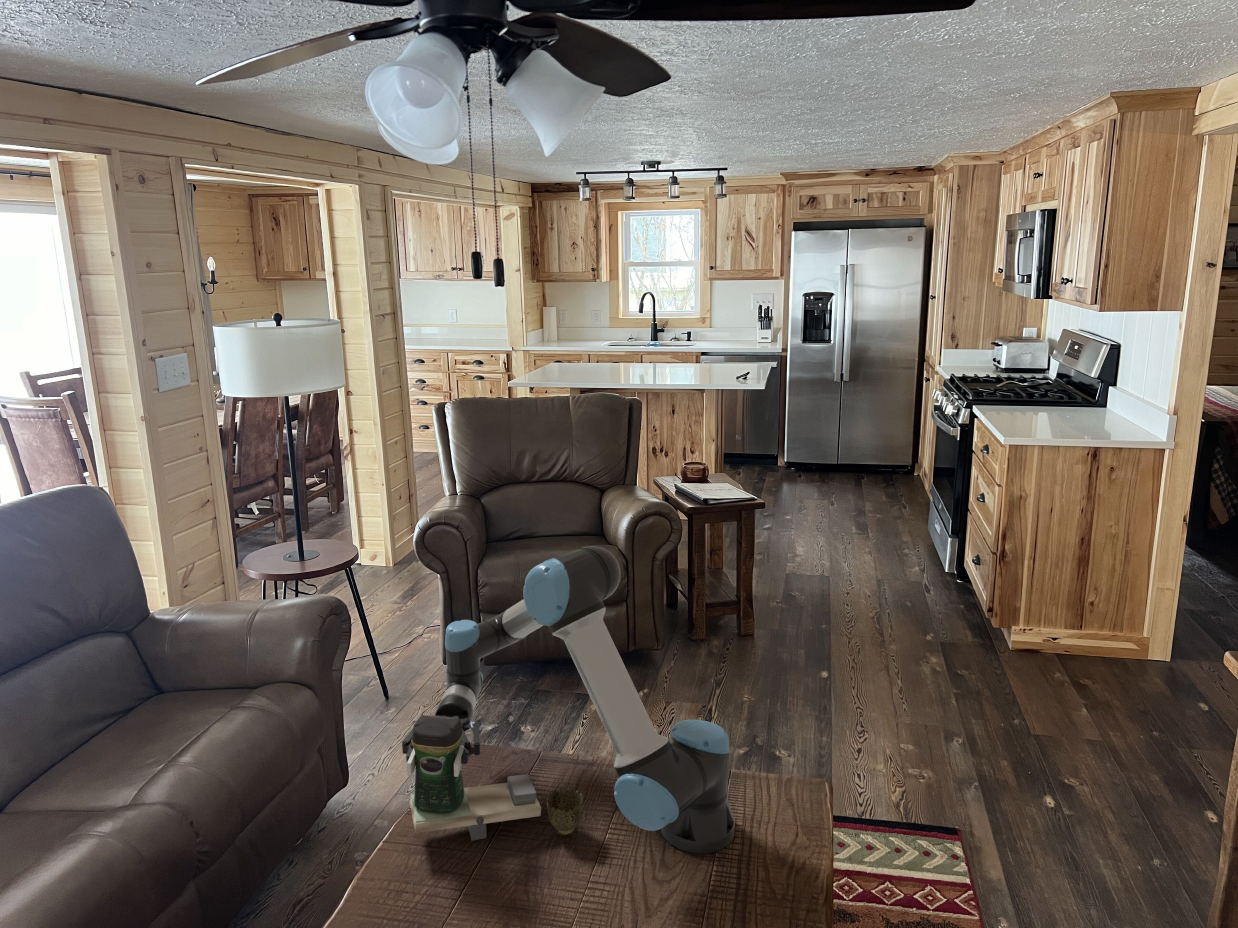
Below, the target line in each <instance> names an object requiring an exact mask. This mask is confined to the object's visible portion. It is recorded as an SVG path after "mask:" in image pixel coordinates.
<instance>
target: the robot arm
mask: <svg viewBox="0 0 1238 928" xmlns="http://www.w3.org/2000/svg"><path fill="white" fill-rule="evenodd" d="M621 577H622V576H621V566H620V564H619V561H618V560H617V558H616V557H615V555H614V554H613V553H612V552H611V551H609V550H608V549H606V548H604V547H601V546H596V545H590V546H589V545H588V546H584V547H580V548H577V549H575V550H573V551H570V552H566V553H564V554H561V555H558V556H555V557H552V558H549V559H547V560H544V561H542V563H539V564H537V565H535V566H534V567H532V569H530V570H529V571H528V574H527V575H526V576H525V578H524V585H523V589H522V592H523V595H522V597H523V599H521V600H520V601H518V602H516V603H515V604H513V605H512V606H510V607H509V608H507V609H506V610H504V611H503V612H501V613H500V614H497V615H495V616H494V617H492V618H490V619H487V620H485V621H482V622H479V623H477V622H476V621H473V620H470V619H461V620H454V621H452V622H451V623H449V624H448V625H446V626H447V627H446V629H445V637H444V638H445V639H444V640H445V641H444V648H445V659H446V660H445V661H446V688H445V690H444V693H443V695H442V697H441V699H440V702H439V704H438V707H437V709H436V711H435V714H434V716H445V717H454V718H458V719H460V722H461V727H462V733H463V736H462V741H461V744H460V746H459V751H458V753H457V756H456V759H455V762H454V777H458V776H459V772H460V769H461V770H462V766H463V765H467V764H468V762H469V759H470V757H471V756H472V755H475V756H480V754H481V741H480V739H481V737H480V735H481V734H482V732H483V720H482V719H481V718H477V719H476V720H475V721H471V719H472V717H473V713H474V710H475V707H476V705H477V704H476V703H477V701H478V698H479V695H480V693H481V691H482V690H483V682H484V675H483V673H482V670H481V659H482V658H485V657H487V656H490V655H491V654H493V653H496V652H497V651H500V650H502V649H504V648H506V647H509V646H511V645H514V644H517V643H518V642H520V641H522V640H523V639H525V638H526V637H527V636H528V635H529V634H531V633H533V632H535V631H537V630H538V629H540V628H542V627H543V626H547V627H548V628H549V630H550V633H551V634H552V635H551V636H555V637H557V638H559V639H562V640H563V641H564V643H565V646H566V648H567V650H568V652H569V654H570V657H571V659H572V661H573V663H574V665H575V667H576V670H577V671H578V674H579V676H580V678H581V680H582V683H583V686H585V689H586V691H587V693H588V695H589V697H590V699H591V702H592V703H593V706H594V708H595V710H596V712H597V714H598V716H599V719H600V721H601V723H602V725H603V728H604V729H605V732H606V734H607V736H608V737H609V738H608V739H610V742H611V745H612V746H613V749H614V751H615V752H616V758H615V760H614V763H613V767H614V769H615V772H616V774H617V777H618V778H617V780H616V782H615V785H614V787H613V790H614V792H613V795H614V800H615V803H616V806H617V807H618V810H619V811H620V812H621V813H622V815H623V816H624V817H625V818H626V819H627V820H628V821H629V822H630V823H631V824H632V825H635V826H637V827H638V828H640V829H642V830H645V831H651V832H652V831H655V832H656V831H659V830H660V831H661V834H662V837H663V838H664V839H665V840H666V842H667V843H668V844H670V845H671V846H673V847H674V848H676V849H678V850H681V851H684V852H686V853H691V854H711V853H715V852H718V851H721V850H723V849H725V848H726V847H728V846H729V845H730V844H731V843H732V841H733V839H734V837H735V828H736V827H735V825H736V824H735V818H734V814H733V811H732V808H731V805H730V803H729V799H728V787H729V785H728V784H729V765H730V753H731V749H730V737H729V735H728V733H727V730H725V729H724V728H723V727H721V726H720V725H718V724H716V723H714V722H711V721H706V720H704V719H703V720H701V719H685V720H680V721H678V722H677V723H675V724H673V726H672V728H671V732H670V740H669V737H666V736H663V735H661V734H659V733H658V732H657V731H656V729H655V727H654V724H653V722H652V719H651V718H650V716H649V714H648V711H647V710H646V708H645V705H644V704H643V701H642V700H641V697H640V694H639V693H638V691H637V689H636V687H635V684H634V683H633V680H632V678H631V675H630V674H629V672H628V670H627V668H626V666H625V664H624V662H623V659H622V657H621V655H620V653H619V651H618V649H617V647H616V645H615V643H614V641H613V638H612V636H611V634H610V632H609V630H608V627H607V625H606V623H605V622H604V616H605V614H606V611H607V609H606V608H607V607H606V606H605V604H604V602H603V601H604V600H606V599H609V597H611V596H612V595H613V594H614V593H615V592H616V590H617V588H618V587H619V584H620V582H621ZM468 730H471V732H472V734H473V743H472V744H471V740H469V739H468V737H467V735H466V731H468ZM412 731H413V728H412V729H411V730H410V731H409V733H407V735H405V737H404V738H403V740H402V741H401V747H402V749H401V750H402V754H403V755H406V756H405V760H406V761H405V762H406V771H407V773H406V775H407V776H408V777H411V776H413V773H414V771H415V770H416V758H415V750H414V748H413V745H412V741H411V740H412V733H413V732H412Z"/></svg>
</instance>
